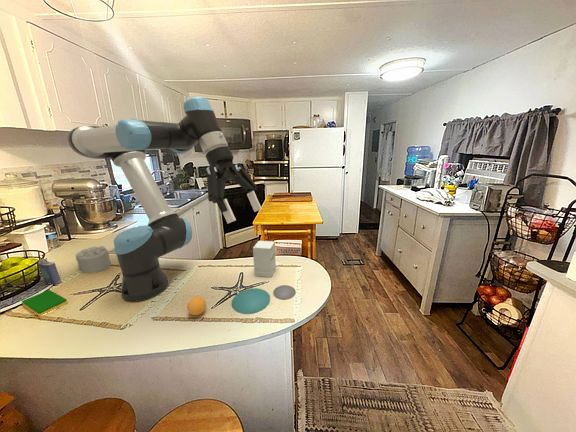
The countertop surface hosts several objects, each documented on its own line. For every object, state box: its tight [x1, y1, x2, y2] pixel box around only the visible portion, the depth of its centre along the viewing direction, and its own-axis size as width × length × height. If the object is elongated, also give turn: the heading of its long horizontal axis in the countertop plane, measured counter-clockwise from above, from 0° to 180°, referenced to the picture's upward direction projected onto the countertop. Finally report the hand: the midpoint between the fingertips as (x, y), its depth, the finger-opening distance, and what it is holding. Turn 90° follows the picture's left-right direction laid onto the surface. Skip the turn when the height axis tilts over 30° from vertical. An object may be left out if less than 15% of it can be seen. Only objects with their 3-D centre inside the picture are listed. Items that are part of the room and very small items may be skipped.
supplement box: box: [252, 240, 277, 278], centre depth 92 cm, size 7×7×13 cm
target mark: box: [231, 287, 271, 315], centre depth 76 cm, size 13×13×1 cm
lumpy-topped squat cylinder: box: [74, 245, 112, 274], centre depth 101 cm, size 10×13×9 cm
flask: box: [37, 257, 62, 286], centre depth 89 cm, size 9×3×11 cm, turn 68°
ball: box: [186, 296, 207, 316], centre depth 70 cm, size 6×6×6 cm
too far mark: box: [272, 284, 296, 301], centre depth 80 cm, size 8×8×1 cm
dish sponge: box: [21, 289, 69, 317], centre depth 77 cm, size 7×14×2 cm, turn 64°
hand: (246, 215), depth 68 cm, fingers open, 13 cm apart
